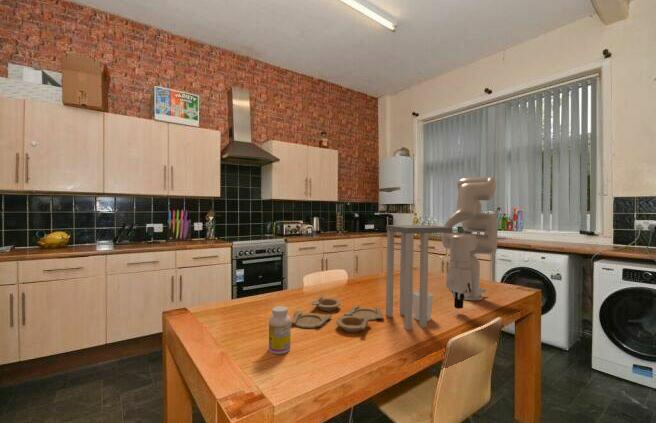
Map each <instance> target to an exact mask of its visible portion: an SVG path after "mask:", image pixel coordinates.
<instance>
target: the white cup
mask: <svg viewBox="0 0 656 423" xmlns="http://www.w3.org/2000/svg"><path fill="white" fill-rule="evenodd" d="M419 297H420V290H414V291H413V302H412V318H413V319H415V320H417V321H419ZM433 297H434V294H433V293H432V292H430V291H428V292H427V322H429V321H431V319H432V312H433V311H432V310H433V302H434V301H433V299H434V298H433Z"/></svg>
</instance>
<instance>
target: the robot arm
mask: <svg viewBox="0 0 656 423" xmlns="http://www.w3.org/2000/svg"><path fill="white" fill-rule="evenodd" d="M456 183H457V184H456V186H457V188H456V189H457V192H458V193H457V202H456V209H455V210H456V211H455V212H454V213H453V214H451V215H450V217H449V218H448V219H447V220H446V222H445V224H444V227H453V228H454V226H456V225H458V224H460V223H461V227H462V230H464V231H466V232H470V233H466V232H465V233H463V232H452V233H442V237H441V243H442V247H444V248H445V249H448V250H449V261H448V262H449V265H448V267H447V271H446V272H447V273H446V281H445V283H446V284H445V286H446V288H447V289H448V290H449V292H451V293H452V297H453V300H454V301H453V304H454V308H456V309H458V310H459V309H463V308H464V300H465V301H471V302H473V301H474V302H475V301H481V300H482V301H483V295H482V293H483V294H484V293H487V288H481V287H480V279H481V278H480V276H481V275H480V273H481V270H480V268H481V263H480V260H479V259H478V257H477V256H476V255H475V254H477V255H478V254H479V255H490V256H492V255H495V254H496V252H497V248H498V226H499V224H498V218H497V216H496V214H494V213H489V212H482V203H481V201H491V200H492V199H493V198H494V194H495V191H496V188H497V182H496V179H495V178H494V177H493V176H479V177H478V176H476V177H474V176H473V177H463V178H460V179H459V180H458V181H457V182H456ZM471 232H472V233H471ZM473 232H474V233H473ZM475 232H476V233H475ZM479 233H481V234H479ZM482 233H485V234H482Z"/></svg>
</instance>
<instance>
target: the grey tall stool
mask: <svg viewBox="0 0 656 423" xmlns="http://www.w3.org/2000/svg"><path fill="white" fill-rule="evenodd" d="M385 227H386V232H387V233H386V234H387V236H386V281H385V282H386V283H385V286H386V290H385V295H386V296H385V303H386V304H385V316H386V317H388V318H392V317H393V316H394V275H395V274H394V270H395V269H394V268H395V266H394V262H395V260H394V258H395V256H394V255H395V232H396V233H400V270H399V275H400V276H399V278H400V280H399V314H400V315H401V316H404V317H403V318H404V321H403V322H404V324H403V326H404V327H403V328H404V329H405V330H407V331H410V330H412V329H413V290H414V289H413V288H414V287H413V286H414V242H415V241H414V237H415V235H414V234H420V248H419V250H420V251H419V291H420V297H419V320H418V326H419V327H420V328H422V329H423V328H427V327H428V321H427V292H429V291H428V287H429V286H428V285H429V280H428V279H429V274H428V273H429V235H430V234H443V233H453V228H454V226H453V227H444V226H441V225H431V224H402V225H401V224H399V225H398V224H397V225H396V224H395V225H394V224H389V225H388V224H386V226H385Z"/></svg>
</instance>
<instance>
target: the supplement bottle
mask: <svg viewBox="0 0 656 423" xmlns="http://www.w3.org/2000/svg"><path fill="white" fill-rule="evenodd" d="M271 313H272V316H270V318H269V320H268V351H269V353H272V354H275V355H283V354H286V353H288V352H289V351H290V350H291V346H292V345H291V340H292V339H291V337H292V335H291V333H292V332H291V331H292V328H291V325H292V324H291V321H292V318H291V316H290V315H288V307H287V306H283V305H280V306H279V305H278V306H274V307H273V308H272V309H271Z"/></svg>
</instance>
